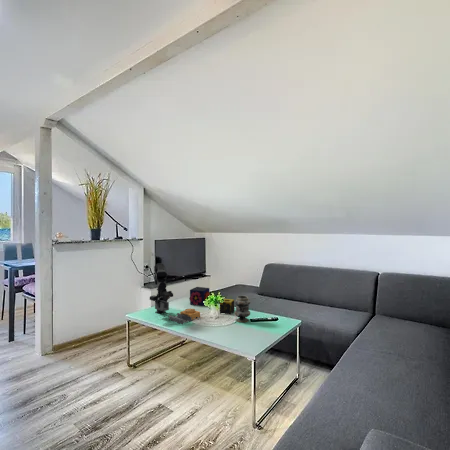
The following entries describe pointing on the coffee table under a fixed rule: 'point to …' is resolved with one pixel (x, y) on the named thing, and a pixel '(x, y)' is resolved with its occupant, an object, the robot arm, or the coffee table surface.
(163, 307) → the chute
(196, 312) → the brown low lump
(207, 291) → the decorative cube
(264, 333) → the coffee table surface
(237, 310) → the stone urn vase
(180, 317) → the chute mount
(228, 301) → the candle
